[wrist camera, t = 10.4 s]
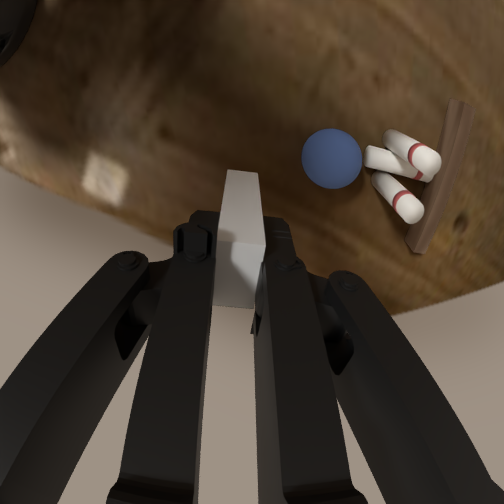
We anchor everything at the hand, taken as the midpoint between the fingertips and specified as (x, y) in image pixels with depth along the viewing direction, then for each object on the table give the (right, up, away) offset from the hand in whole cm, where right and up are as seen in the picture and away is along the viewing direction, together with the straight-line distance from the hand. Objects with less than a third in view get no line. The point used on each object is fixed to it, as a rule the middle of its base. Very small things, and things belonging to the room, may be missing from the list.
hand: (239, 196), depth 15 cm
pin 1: (+16, +10, +14) cm, 23 cm away
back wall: (+23, +7, +16) cm, 29 cm away
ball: (+8, +6, +12) cm, 16 cm away
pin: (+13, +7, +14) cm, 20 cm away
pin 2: (+16, +6, +16) cm, 23 cm away
